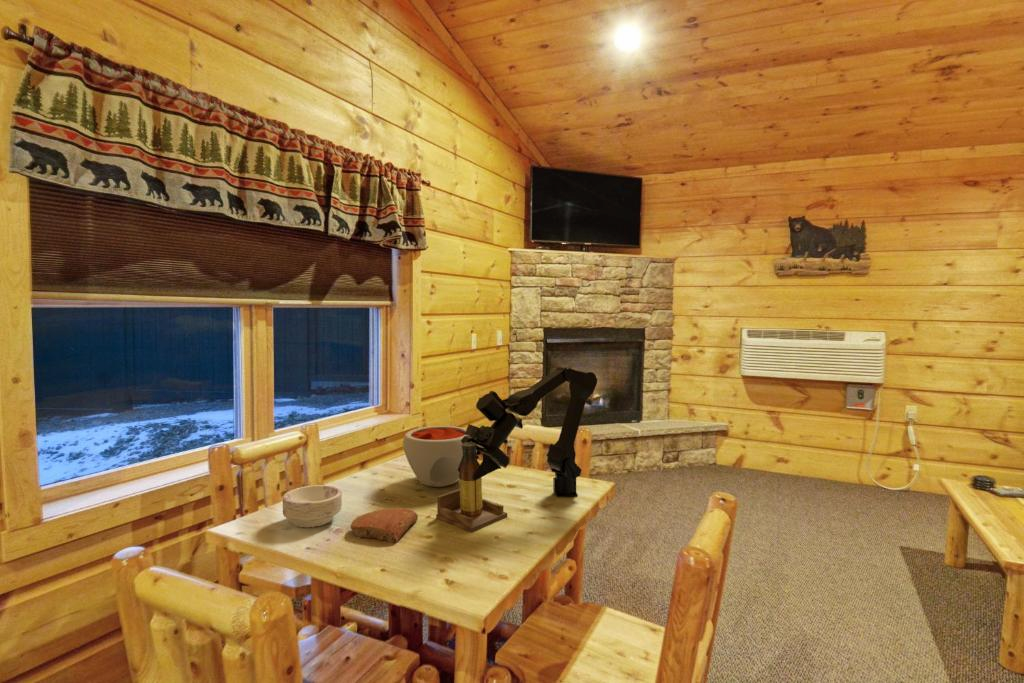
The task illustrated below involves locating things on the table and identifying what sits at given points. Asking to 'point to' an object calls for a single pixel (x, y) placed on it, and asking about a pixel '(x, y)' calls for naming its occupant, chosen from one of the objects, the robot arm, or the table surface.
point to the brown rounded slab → (384, 524)
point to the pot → (435, 454)
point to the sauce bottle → (470, 482)
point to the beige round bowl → (312, 505)
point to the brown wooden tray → (452, 514)
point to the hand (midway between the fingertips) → (466, 475)
